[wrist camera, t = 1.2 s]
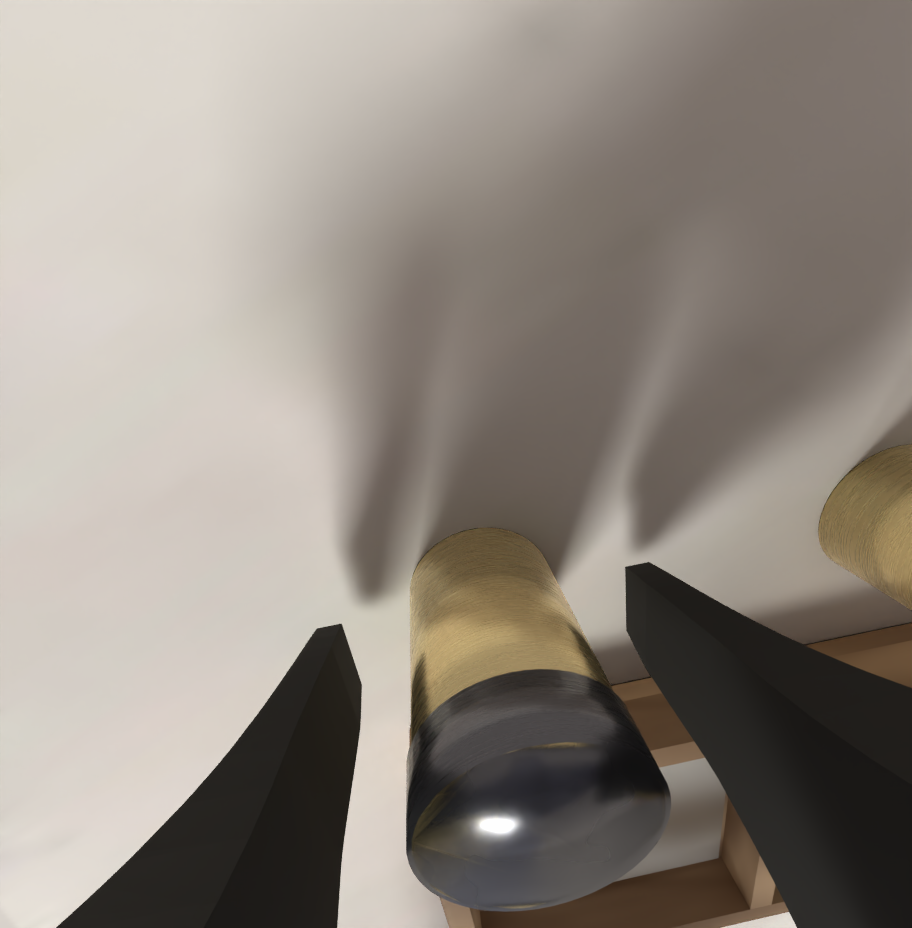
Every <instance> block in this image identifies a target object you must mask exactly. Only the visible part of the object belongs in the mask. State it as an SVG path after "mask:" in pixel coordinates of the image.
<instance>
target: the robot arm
mask: <svg viewBox="0 0 912 928" xmlns="http://www.w3.org/2000/svg"><path fill="white" fill-rule="evenodd" d="M625 573H626V627H627V632H628V634H629V636H630V638H631V640H632V642H633V644H634V646H635V648H636V650H637V652H638V654H639V656H640V658H641V660H642V662H643V664H644V666H645V668H646V669H647V671H648V672H649V674H650V675H651V677H652V679H653V680H654V682H655V683H656V685H657V686H658V688H659V689H660V691H661V692H662V694H663V695H664V697H665V698H666V700H667V701H668V703H669V704H670V706H671V707H672V709H673V710H674V712H675V713H676V715H677V716H678V718H679V719H680V721H681V722H682V724H683V725H684V727H685V728H686V730H687V731H688V733H689V734H690V736H691V737H692V739H693V740H694V742H695V743H696V745H697V746H698V748H699V749H700V751H701V752H702V754H703V755H704V757H705V758H706V760H707V762H708V763H709V765H710V766H711V768H712V770H713V771H714V773H715V775H716V776H717V778H718V779H719V781H720V783H721V785H722V787H723V788H724V790H725V792H726V794H727V796H728V797H729V799H730V801H731V803H732V805H733V806H734V808H735V810H736V812H737V814H738V816H739V817H740V819H741V821H742V823H743V825H744V826H745V828H746V830H747V832H748V834H749V836H750V838H751V839H752V841H753V843H754V845H755V847H756V849H757V851H758V853H759V855H760V856H761V858H762V860H763V862H764V864H765V866H766V868H767V870H768V872H769V873H770V875H771V877H772V879H773V881H774V883H775V885H776V887H777V889H778V891H779V893H780V895H781V897H782V899H783V901H784V903H785V904H786V906H787V908H788V910H789V912H790V914H791V916H792V918H793V920H794V922H795V924H796V926H797V928H912V688H910V687H908V686H905V685H902V684H899V683H897V682H894V681H891V680H889V679H886V678H883V677H880V676H878V675H875V674H872V673H870V672H867V671H864V670H862V669H859V668H857V667H854V666H852V665H849V664H847V663H844V662H842V661H840V660H837V659H835V658H833V657H830V656H828V655H826V654H823V653H821V652H819V651H816V650H814V649H812V648H809V647H807V646H805V645H803V644H800V643H798V642H796V641H794V640H792V639H790V638H787V637H785V636H783V635H781V634H779V633H777V632H775V631H773V630H771V629H769V628H767V627H765V626H763V625H761V624H759V623H757V622H755V621H753V620H751V619H749V618H747V617H746V616H744V615H742V614H740V613H738V612H736V611H734V610H732V609H731V608H729V607H727V606H725V605H723V604H721V603H720V602H718V601H716V600H714V599H712V598H711V597H709V596H707V595H705V594H704V593H702V592H700V591H698V590H697V589H695V588H693V587H691V586H690V585H688V584H686V583H685V582H683V581H681V580H679V579H678V578H676V577H674V576H673V575H671V574H669V573H667V572H666V571H664V570H662V569H660V568H659V567H657V566H655V565H653V564H651V563H649V562H648V563H643V564H638V565H633V566H628V567H625ZM361 690H362V684H361V681H360V678H359V675H358V672H357V669H356V666H355V663H354V660H353V657H352V654H351V651H350V648H349V645H348V642H347V639H346V636H345V633H344V630H343V627H342V624H338V625H333V626H328V627H323V628H318V629H316V631H315V632H314V634H313V635H312V636H311V638H310V639H309V641H308V642H307V644H306V645H305V647H304V648H303V650H302V651H301V653H300V654H299V656H298V657H297V659H296V660H295V662H294V663H293V665H292V666H291V668H290V669H289V670H288V672H287V673H286V675H285V676H284V678H283V679H282V681H281V682H280V684H279V685H278V686H277V688H276V689H275V691H274V692H273V694H272V695H271V696H270V698H269V699H268V701H267V702H266V703H265V705H264V706H263V708H262V709H261V710H260V712H259V713H258V714H257V716H256V717H255V718H254V720H253V721H252V722H251V724H250V725H249V726H248V727H247V729H246V730H245V731H244V733H243V734H242V735H241V737H240V738H239V739H238V741H237V742H236V743H235V744H234V746H233V747H232V748H231V750H230V751H229V752H228V753H227V754H226V756H225V757H224V758H223V759H222V761H221V762H220V763H219V764H218V765H217V766H216V768H215V769H214V770H213V771H212V772H211V773H210V775H209V776H208V777H207V778H206V779H205V780H204V781H203V783H202V784H201V785H200V786H199V787H198V788H197V789H196V791H195V792H194V793H193V794H192V795H191V796H190V797H189V798H188V799H187V801H186V802H185V803H184V804H183V805H182V806H181V807H180V808H179V809H178V810H177V811H176V812H175V813H174V814H173V815H172V816H171V817H170V818H169V819H168V820H167V821H166V822H165V823H164V825H163V826H162V827H161V828H160V829H159V830H158V831H157V832H156V833H155V834H154V835H153V836H152V837H151V838H150V839H149V840H148V841H147V842H146V843H145V844H144V845H143V846H142V847H141V848H140V849H139V850H138V851H137V852H136V853H135V854H134V855H133V856H132V857H131V858H130V859H129V860H128V861H127V862H126V863H125V864H124V865H123V866H122V867H121V868H120V869H119V870H118V871H117V872H116V873H115V874H114V875H113V876H112V877H111V878H110V879H108V880H107V881H106V882H105V883H104V884H103V885H102V886H101V887H100V888H99V889H98V890H97V891H96V892H95V893H94V894H93V895H91V896H90V897H89V898H88V899H87V900H86V901H85V902H84V903H83V904H82V905H81V906H79V907H78V908H77V909H76V910H75V911H74V912H73V913H72V914H71V915H70V916H69V917H68V918H66V919H65V920H64V921H63V922H62V923H61V924H60V925H59V926H57V927H56V928H337V920H338V904H339V889H340V874H341V861H342V852H343V843H344V835H345V828H346V821H347V815H348V808H349V801H350V795H351V788H352V781H353V775H354V768H355V761H356V754H357V747H358V740H359V733H360V721H361Z"/></svg>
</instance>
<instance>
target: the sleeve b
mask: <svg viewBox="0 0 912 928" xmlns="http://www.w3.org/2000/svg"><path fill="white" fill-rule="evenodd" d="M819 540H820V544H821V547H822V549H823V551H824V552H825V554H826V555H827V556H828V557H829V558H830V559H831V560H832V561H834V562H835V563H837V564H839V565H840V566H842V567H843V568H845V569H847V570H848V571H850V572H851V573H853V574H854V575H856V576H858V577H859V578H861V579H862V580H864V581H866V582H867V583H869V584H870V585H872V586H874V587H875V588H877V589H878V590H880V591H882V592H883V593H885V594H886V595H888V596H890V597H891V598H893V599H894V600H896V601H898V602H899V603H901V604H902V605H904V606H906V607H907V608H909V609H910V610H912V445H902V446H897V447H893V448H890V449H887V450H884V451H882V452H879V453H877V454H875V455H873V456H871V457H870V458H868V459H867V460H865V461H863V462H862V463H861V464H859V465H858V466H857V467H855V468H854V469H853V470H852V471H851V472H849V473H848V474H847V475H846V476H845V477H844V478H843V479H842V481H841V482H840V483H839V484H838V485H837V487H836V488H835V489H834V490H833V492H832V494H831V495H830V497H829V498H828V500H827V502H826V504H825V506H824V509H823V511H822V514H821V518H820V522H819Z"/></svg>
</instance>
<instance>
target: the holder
mask: <svg viewBox="0 0 912 928" xmlns="http://www.w3.org/2000/svg"><path fill="white" fill-rule="evenodd" d="M805 646H807V647H809V648H812V649H814V650H816V651H819V652H821V653H823V654H826V655H828V656H830V657H833V658H835V659H837V660H840V661H842V662H844V663H847V664H849V665H852V666H854V667H857V668H859V669H862V670H864V671H867V672H870V673H872V674H875V675H878V676H880V677H883V678H886V679H889V680H891V681H894V682H897V683H899V684H902V685H905V686H908V687H910V688H912V623H909V624H904V625H900V626H895V627H890V628H885V629H881V630H876V631H871V632H866V633H862V634H857V635H852V636H847V637H843V638H838V639H833V640H828V641H823V642H819V643H814V644H809V645H805ZM611 687H612V689H613V691H614V692H615V693H616V694H617V695H618V696H619V697H620V698H621V700H622V701H623V702H624V703H625V705H626V706H627V708H628V710H629V712H630V714H631V716H632V718H633V720H634V721H635V723H636V725H637V727H638V729H639V731H640V733H641V735H642V737H643V738H644V740H645V742H646V744H647V746H648V748H649V750H650V752H651V754H652V755H653V757H654V759H655V761H656V763H657V765H658V767H659V769H660V770H661V772H662V774H663V776H664V778H665V780H666V782H667V784H668V787H669V790H670V794H671V811H670V817H669V820H668V823H667V826H666V829H665V830H664V832H663V834H662V836H661V838H660V840H659V841H658V842H657V844H656V845H655V847H654V848H653V849H652V850H651V851H650V853H649V854H648V855H647V856H646V857H645V858H644V859H643V860H642V861H641V862H640V863H639V864H638V865H636V866H635V867H634V868H633V869H632V870H630V871H629V872H627V873H626V874H625V875H623V876H622V877H620V878H619V879H617V880H616V881H614V882H612V883H611V884H609V885H607V886H605V887H603V888H601V889H599V890H597V891H595V892H593V893H591V894H588V895H586V896H583V897H581V898H578V899H575V900H572V901H569V902H566V903H562V904H558V905H555V906H551V907H545V908H540V909H534V910H525V911H508V912H504V911H487V910H479V909H473V908H469V907H464V906H461V905H458V904H455V903H452V902H449V901H447V900H445V899H443V898H441V897H440V899H441V903H442V906H443V909H444V912H445V915H446V918H447V922H448V925H449V928H721V927H725V926H729V925H734V924H738V923H742V922H747V921H751V920H755V919H759V918H764V917H768V916H772V915H777V914H781V913H785V912H789V910H788V908H787V906H786V904H785V903H784V901H783V899H782V897H781V895H780V893H779V891H778V889H777V887H776V885H775V883H774V881H773V879H772V877H771V875H770V873H769V872H768V870H767V868H766V866H765V864H764V862H763V860H762V858H761V856H760V855H759V853H758V851H757V849H756V847H755V845H754V843H753V841H752V839H751V838H750V836H749V834H748V832H747V830H746V828H745V826H744V825H743V823H742V821H741V819H740V817H739V816H738V814H737V812H736V810H735V808H734V806H733V805H732V803H731V801H730V799H729V797H728V796H727V794H726V792H725V790H724V788H723V787H722V785H721V783H720V781H719V779H718V778H717V776H716V775H715V773H714V771H713V770H712V768H711V766H710V765H709V763H708V762H707V760H706V758H705V757H704V755H703V754H702V752H701V751H700V749H699V748H698V746H697V745H696V743H695V742H694V740H693V739H692V737H691V736H690V734H689V733H688V731H687V730H686V728H685V727H684V725H683V724H682V722H681V721H680V719H679V718H678V716H677V715H676V713H675V712H674V710H673V709H672V707H671V706H670V704H669V703H668V701H667V700H666V698H665V697H664V695H663V694H662V692H661V691H660V689H659V688H658V686H657V685H656V683H655V682H654V680H653V679H652V678H647V679H642V680H637V681H633V682H628V683H623V684H618V685H614V686H611ZM410 745H411V728H410Z"/></svg>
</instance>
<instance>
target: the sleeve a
mask: <svg viewBox="0 0 912 928" xmlns="http://www.w3.org/2000/svg"><path fill="white" fill-rule="evenodd" d="M410 656H411V745H410V748H409V751H408V757H407V807H406V853H407V857H408V861H409V865H410V867H411V869H412V871H413V873H414V874H415V876H416V877H417V878H418V880H419V881H420V882H421V883H422V884H423V885H424V886H425V887H426V888H427V889H428V890H430V891H431V892H433V893H434V894H436V895H437V896H439V897H441V898H443V899H445V900H447V901H449V902H452V903H455V904H458V905H461V906H464V907H469V908H473V909H479V910H487V911H504V912H508V911H525V910H534V909H540V908H545V907H551V906H555V905H558V904H562V903H566V902H569V901H572V900H575V899H578V898H581V897H583V896H586V895H588V894H591V893H593V892H595V891H597V890H599V889H601V888H603V887H605V886H607V885H609V884H611V883H612V882H614V881H616V880H617V879H619V878H620V877H622V876H623V875H625V874H626V873H627V872H629V871H630V870H632V869H633V868H634V867H635V866H636V865H638V864H639V863H640V862H641V861H642V860H643V859H644V858H645V857H646V856H647V855H648V854H649V853H650V851H651V850H652V849H653V848H654V847H655V845H656V844H657V842H658V841H659V840H660V838H661V836H662V834H663V832H664V830H665V829H666V826H667V823H668V820H669V817H670V811H671V794H670V790H669V787H668V784H667V782H666V780H665V778H664V776H663V774H662V772H661V770H660V769H659V767H658V765H657V763H656V761H655V759H654V757H653V755H652V754H651V752H650V750H649V748H648V746H647V744H646V742H645V740H644V738H643V737H642V735H641V733H640V731H639V729H638V727H637V725H636V723H635V721H634V720H633V718H632V716H631V714H630V712H629V710H628V708H627V706H626V705H625V703H624V702H623V701H622V700H621V698H620V697H619V696H618V695H617V694H616V693H615V692H614V691H613V689H612V687H611V685H610V683H609V681H608V679H607V677H606V675H605V674H604V672H603V670H602V668H601V666H600V664H599V662H598V660H597V658H596V656H595V654H594V652H593V650H592V648H591V647H590V645H589V643H588V641H587V639H586V637H585V635H584V633H583V631H582V629H581V627H580V625H579V623H578V621H577V620H576V618H575V616H574V614H573V612H572V610H571V608H570V606H569V604H568V602H567V600H566V598H565V596H564V594H563V592H562V591H561V589H560V587H559V585H558V583H557V581H556V579H555V577H554V575H553V573H552V571H551V569H550V567H549V565H548V564H547V562H546V560H545V558H544V556H543V554H542V553H541V552H540V550H539V549H538V548H537V547H536V546H535V545H534V544H533V543H532V542H530V541H529V540H527V539H526V538H524V537H523V536H521V535H519V534H517V533H514V532H511V531H508V530H503V529H498V528H477V529H470V530H466V531H462V532H459V533H457V534H454V535H452V536H450V537H448V538H446V539H444V540H442V541H441V542H439V543H438V544H436V545H435V546H434V547H433V548H432V549H430V550H429V551H428V552H427V553H426V555H425V556H424V557H423V558H422V559H421V561H420V562H419V564H418V565H417V567H416V570H415V572H414V574H413V577H412V580H411V586H410Z"/></svg>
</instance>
